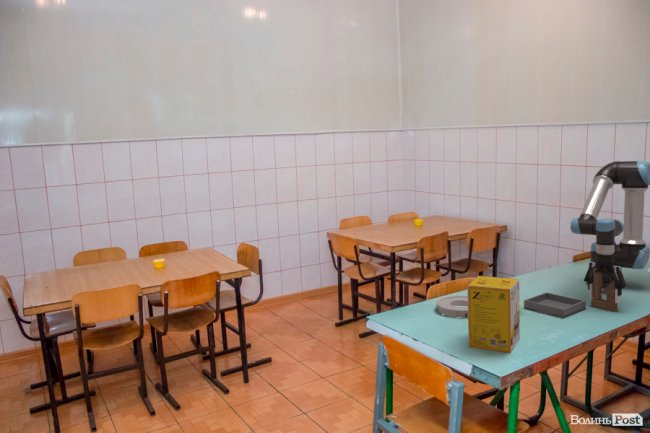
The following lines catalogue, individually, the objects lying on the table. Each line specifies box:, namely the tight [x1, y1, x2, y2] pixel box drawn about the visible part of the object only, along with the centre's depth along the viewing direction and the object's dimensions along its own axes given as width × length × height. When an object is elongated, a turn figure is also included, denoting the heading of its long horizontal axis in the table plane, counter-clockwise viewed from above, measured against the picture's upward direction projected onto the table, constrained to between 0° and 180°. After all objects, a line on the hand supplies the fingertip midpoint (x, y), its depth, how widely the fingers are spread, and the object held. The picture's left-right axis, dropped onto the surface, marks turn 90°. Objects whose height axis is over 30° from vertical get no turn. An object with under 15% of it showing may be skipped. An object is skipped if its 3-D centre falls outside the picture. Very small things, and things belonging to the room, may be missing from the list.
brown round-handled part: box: [590, 268, 619, 312], centre depth 252 cm, size 4×11×18 cm, turn 34°
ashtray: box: [436, 295, 468, 319], centre depth 263 cm, size 23×23×4 cm
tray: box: [523, 292, 587, 319], centre depth 257 cm, size 18×20×4 cm
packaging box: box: [466, 275, 521, 354], centre depth 219 cm, size 16×16×25 cm
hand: (604, 299), depth 253 cm, fingers open, 11 cm apart
